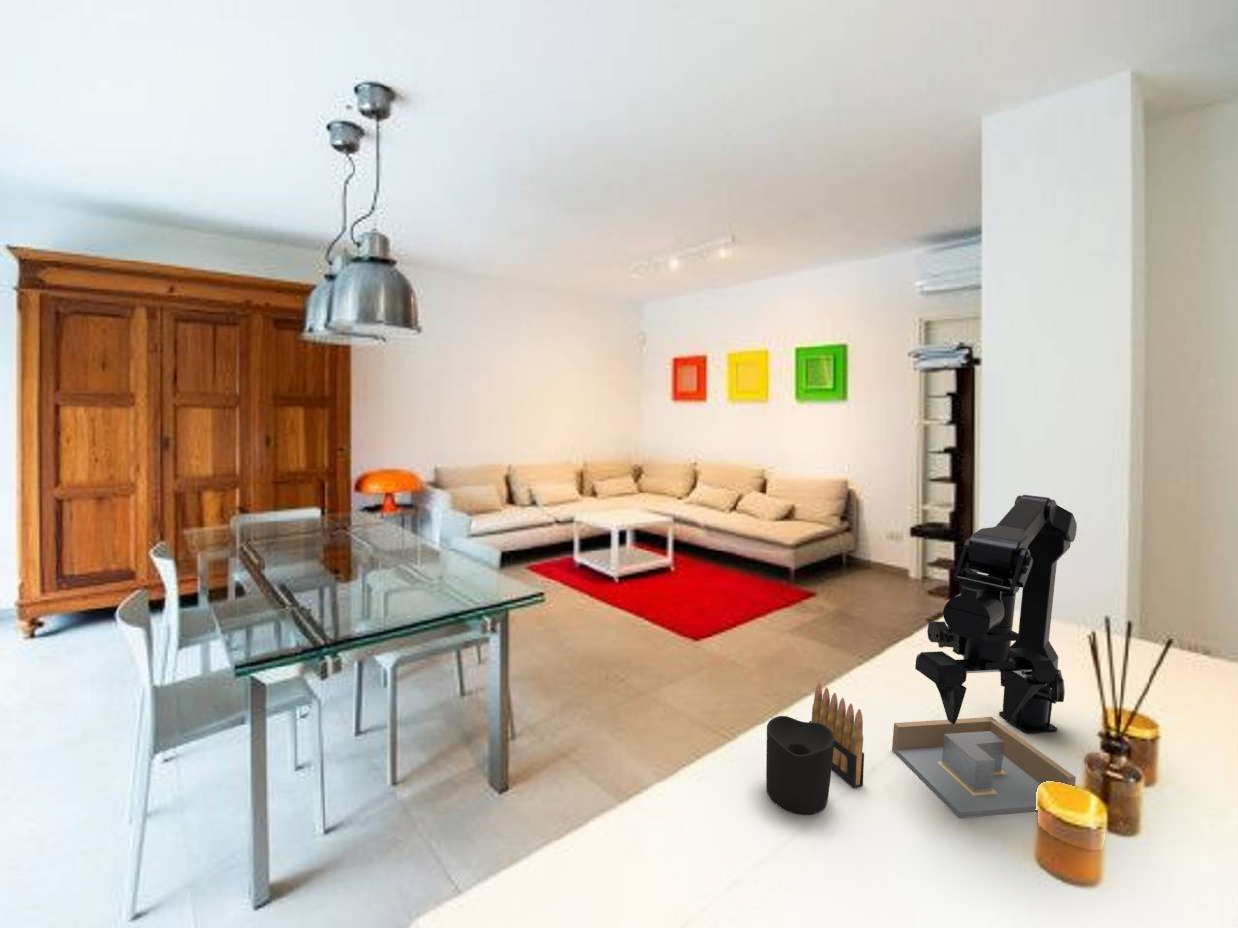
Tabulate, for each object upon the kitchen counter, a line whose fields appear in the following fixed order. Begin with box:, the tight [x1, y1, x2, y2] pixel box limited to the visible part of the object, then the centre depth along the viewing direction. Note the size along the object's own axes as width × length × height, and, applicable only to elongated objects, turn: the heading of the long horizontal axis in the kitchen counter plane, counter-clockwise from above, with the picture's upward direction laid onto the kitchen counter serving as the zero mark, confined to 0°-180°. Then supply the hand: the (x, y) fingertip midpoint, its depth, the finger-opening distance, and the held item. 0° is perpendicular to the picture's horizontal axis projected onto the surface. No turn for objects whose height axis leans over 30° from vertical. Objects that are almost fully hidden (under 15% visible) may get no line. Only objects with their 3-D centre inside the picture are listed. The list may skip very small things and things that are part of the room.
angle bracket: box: [942, 731, 1004, 793], centre depth 91 cm, size 7×8×5 cm
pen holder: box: [765, 715, 835, 816], centre depth 86 cm, size 9×9×10 cm
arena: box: [891, 716, 1077, 819], centre depth 92 cm, size 18×16×5 cm
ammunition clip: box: [808, 682, 865, 789], centre depth 94 cm, size 11×2×12 cm, turn 22°
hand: (979, 720), depth 88 cm, fingers open, 9 cm apart
